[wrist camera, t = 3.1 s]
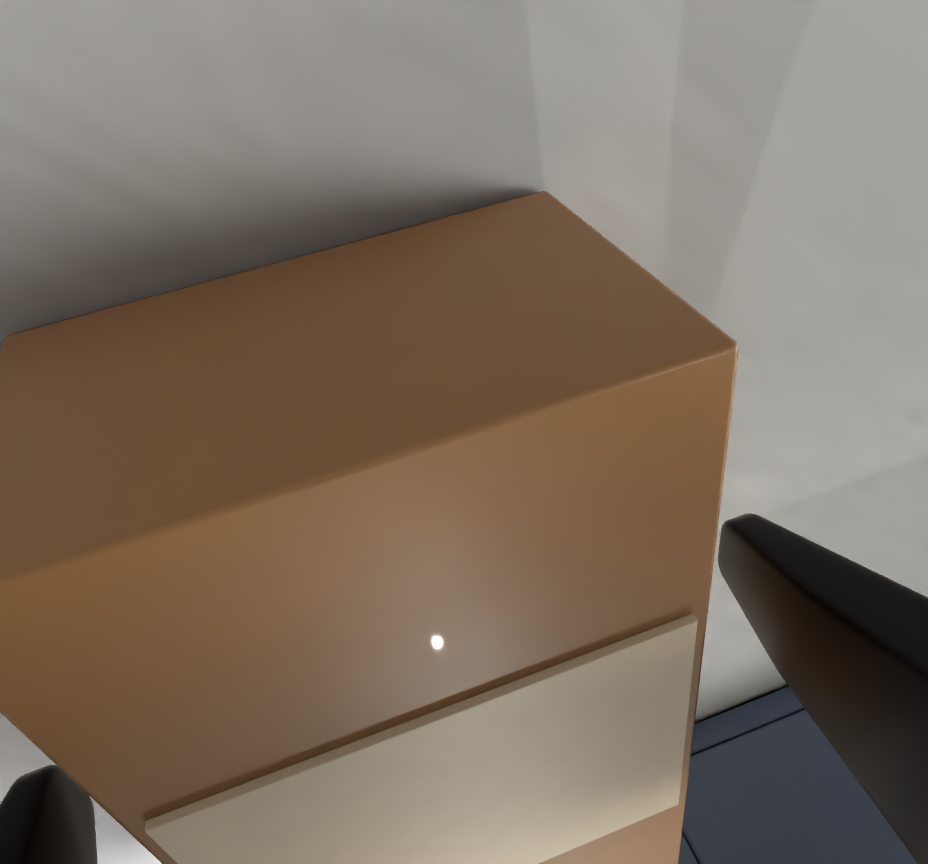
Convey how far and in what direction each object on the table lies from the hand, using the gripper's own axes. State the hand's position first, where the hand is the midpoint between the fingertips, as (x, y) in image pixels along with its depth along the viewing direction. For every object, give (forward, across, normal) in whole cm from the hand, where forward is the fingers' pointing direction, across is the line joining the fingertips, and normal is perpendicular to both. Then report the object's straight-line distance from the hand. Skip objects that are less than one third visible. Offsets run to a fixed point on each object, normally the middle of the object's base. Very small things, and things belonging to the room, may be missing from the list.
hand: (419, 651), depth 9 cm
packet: (+1, 0, 0) cm, 1 cm away
